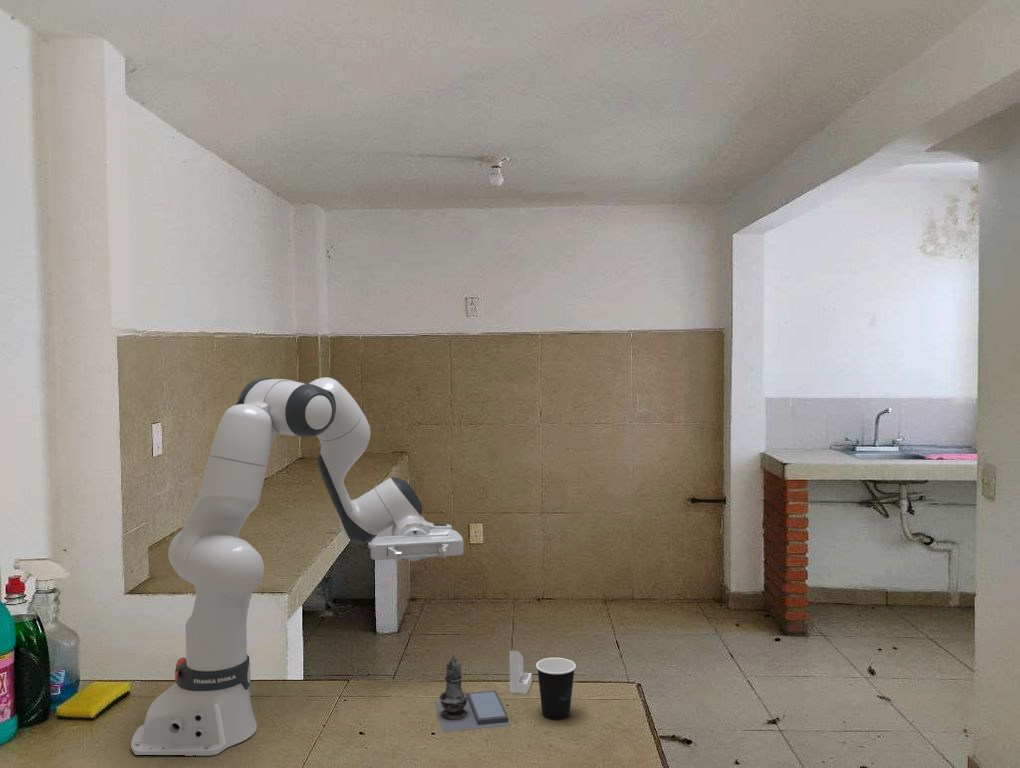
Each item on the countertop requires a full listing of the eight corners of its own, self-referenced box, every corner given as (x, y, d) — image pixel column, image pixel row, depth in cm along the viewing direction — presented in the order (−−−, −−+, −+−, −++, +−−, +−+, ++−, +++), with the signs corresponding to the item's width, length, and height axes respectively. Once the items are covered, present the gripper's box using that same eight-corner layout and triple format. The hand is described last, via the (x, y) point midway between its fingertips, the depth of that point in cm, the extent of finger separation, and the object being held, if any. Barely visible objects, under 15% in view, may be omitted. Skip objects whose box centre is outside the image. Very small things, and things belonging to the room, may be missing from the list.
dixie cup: (574, 729, 165) (574, 673, 164) (533, 726, 166) (533, 671, 166) (577, 711, 173) (577, 658, 172) (538, 709, 174) (538, 656, 173)
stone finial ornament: (474, 712, 170) (474, 653, 169) (456, 723, 165) (455, 663, 165) (451, 705, 173) (451, 647, 173) (433, 715, 169) (432, 656, 168)
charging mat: (442, 737, 162) (442, 732, 162) (434, 705, 176) (434, 701, 175) (509, 730, 164) (509, 725, 164) (496, 700, 178) (496, 695, 178)
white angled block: (505, 694, 175) (509, 650, 179) (513, 700, 184) (517, 658, 188) (522, 695, 175) (526, 651, 179) (530, 701, 183) (533, 659, 187)
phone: (477, 724, 165) (477, 720, 165) (467, 697, 177) (467, 692, 177) (508, 722, 166) (508, 717, 166) (495, 694, 179) (495, 690, 179)
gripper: (367, 528, 191) (370, 543, 177) (457, 524, 195) (467, 538, 181) (367, 556, 191) (370, 573, 177) (458, 551, 195) (467, 567, 182)
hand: (420, 555), depth 179 cm, fingers open, 8 cm apart
